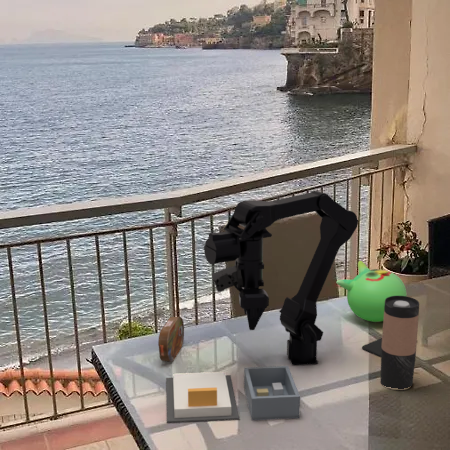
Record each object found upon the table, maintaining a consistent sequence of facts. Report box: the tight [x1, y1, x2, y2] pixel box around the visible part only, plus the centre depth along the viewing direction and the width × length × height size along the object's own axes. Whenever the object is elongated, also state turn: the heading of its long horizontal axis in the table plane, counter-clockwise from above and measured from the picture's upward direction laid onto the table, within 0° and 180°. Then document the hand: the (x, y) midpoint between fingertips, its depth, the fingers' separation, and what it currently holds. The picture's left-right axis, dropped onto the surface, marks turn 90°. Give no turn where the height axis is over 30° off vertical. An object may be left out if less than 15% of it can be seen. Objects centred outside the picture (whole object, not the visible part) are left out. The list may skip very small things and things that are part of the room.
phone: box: [361, 337, 382, 358], centre depth 180 cm, size 7×1×15 cm
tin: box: [157, 316, 185, 363], centre depth 174 cm, size 15×3×8 cm, turn 168°
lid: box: [172, 371, 231, 418], centre depth 152 cm, size 12×16×6 cm
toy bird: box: [336, 260, 408, 323], centre depth 195 cm, size 18×17×15 cm
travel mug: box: [380, 296, 420, 389], centre depth 157 cm, size 8×8×20 cm
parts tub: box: [243, 365, 301, 421], centre depth 151 cm, size 10×14×5 cm
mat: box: [165, 374, 240, 424], centre depth 153 cm, size 15×19×1 cm
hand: (249, 321), depth 161 cm, fingers open, 9 cm apart
